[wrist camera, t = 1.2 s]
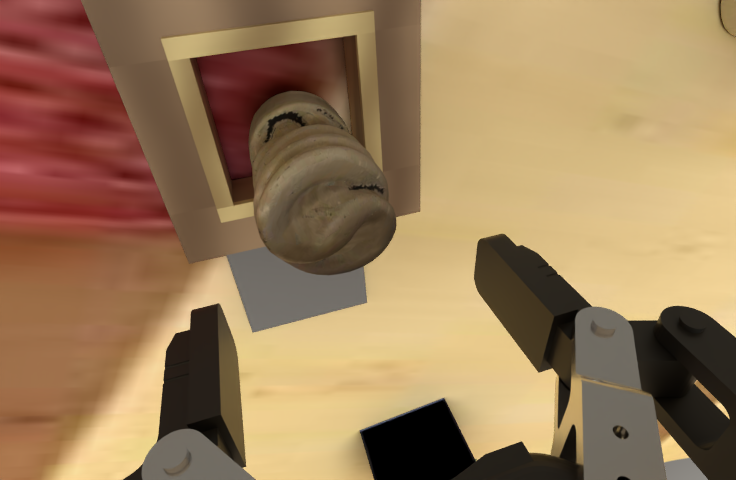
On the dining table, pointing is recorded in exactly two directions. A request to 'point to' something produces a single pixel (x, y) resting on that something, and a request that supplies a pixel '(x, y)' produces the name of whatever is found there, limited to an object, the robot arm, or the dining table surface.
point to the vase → (417, 445)
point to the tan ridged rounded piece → (316, 187)
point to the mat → (290, 289)
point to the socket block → (193, 113)
